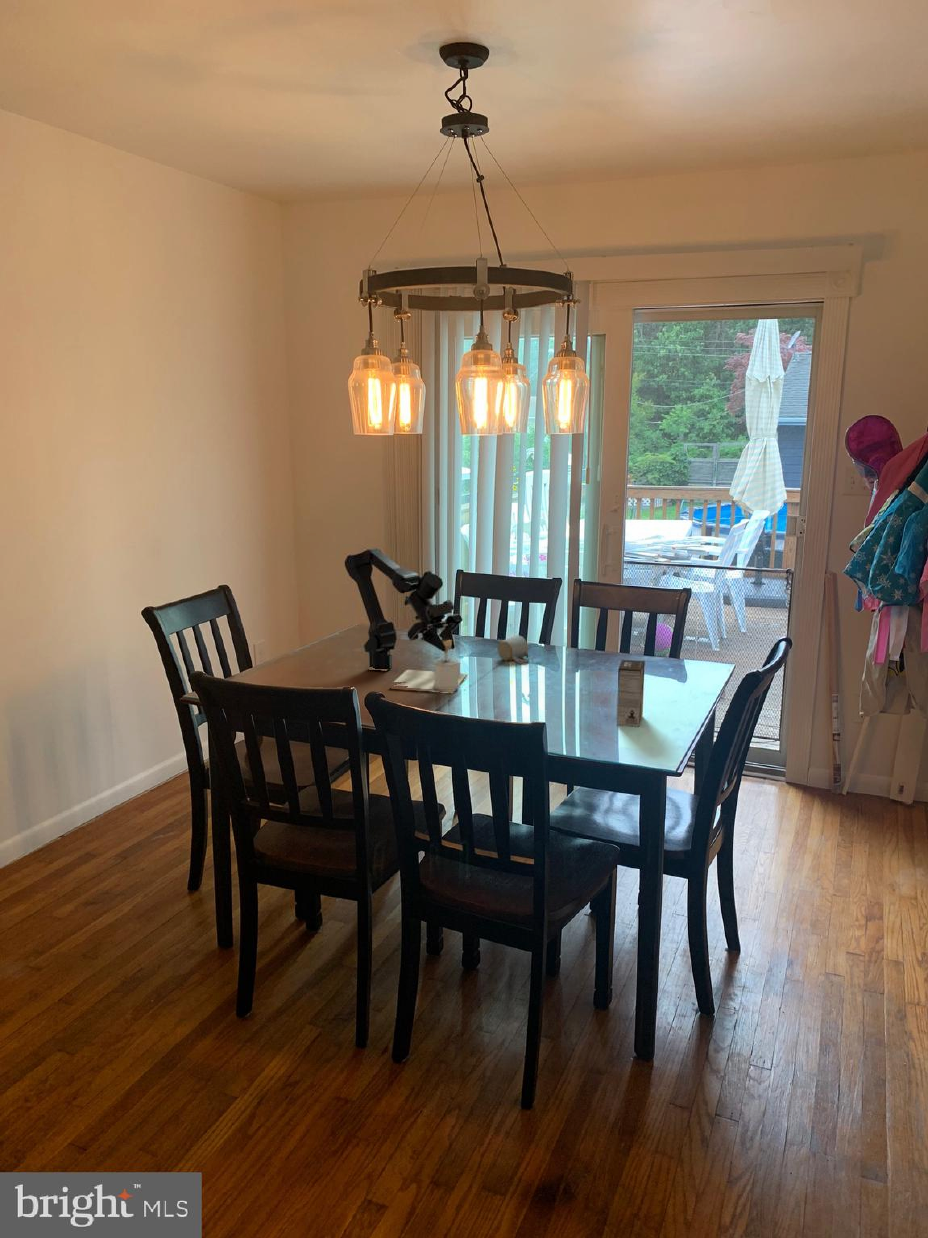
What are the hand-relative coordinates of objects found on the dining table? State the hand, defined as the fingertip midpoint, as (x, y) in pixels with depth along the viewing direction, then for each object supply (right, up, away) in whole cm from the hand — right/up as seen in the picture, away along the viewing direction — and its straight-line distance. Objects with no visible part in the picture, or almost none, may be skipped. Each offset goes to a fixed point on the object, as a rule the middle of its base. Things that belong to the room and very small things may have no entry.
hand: (449, 649), depth 267 cm
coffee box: (+49, -19, -24) cm, 58 cm away
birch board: (-7, -11, +10) cm, 16 cm away
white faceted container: (0, -11, +4) cm, 12 cm away
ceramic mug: (+22, -5, +36) cm, 42 cm away
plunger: (-1, -6, +2) cm, 7 cm away
